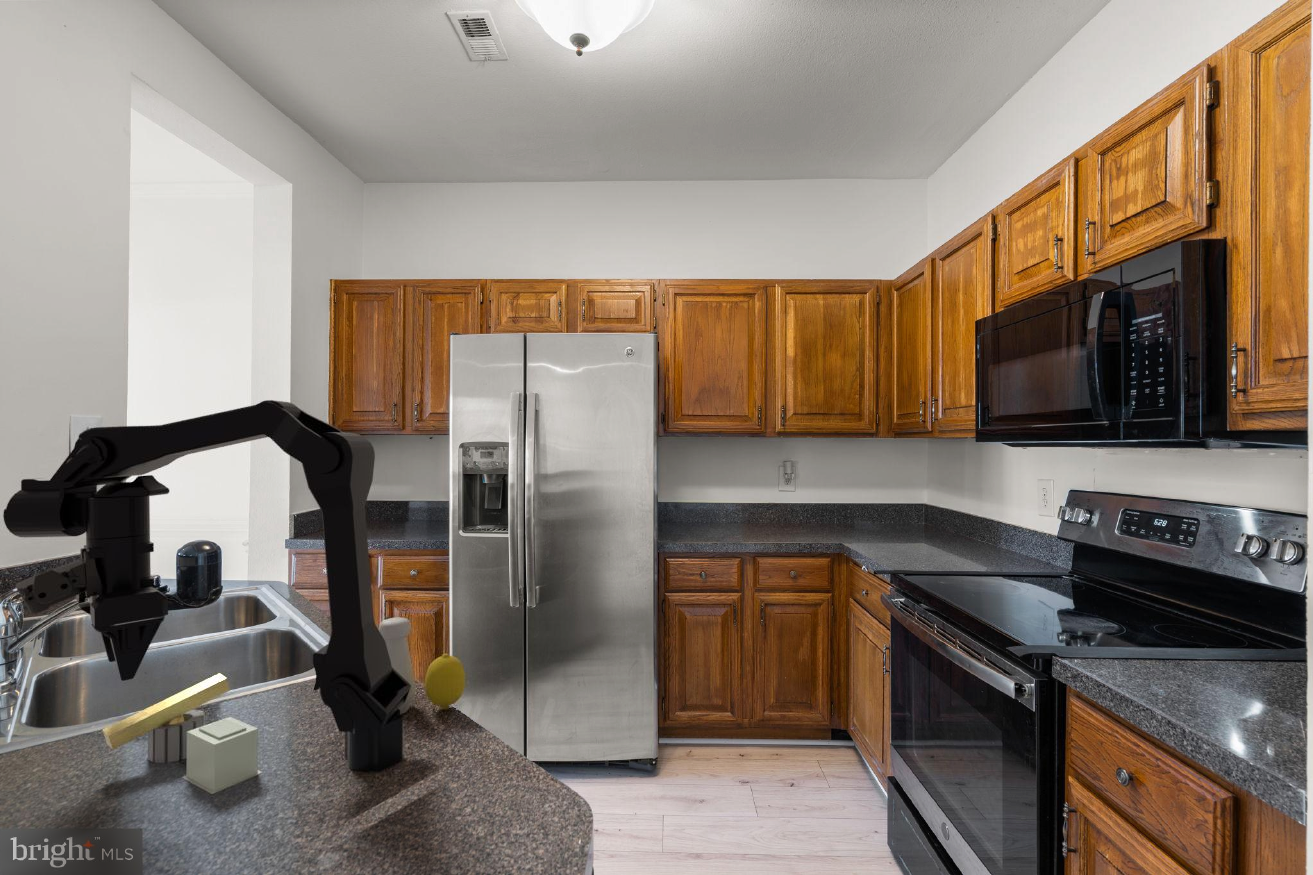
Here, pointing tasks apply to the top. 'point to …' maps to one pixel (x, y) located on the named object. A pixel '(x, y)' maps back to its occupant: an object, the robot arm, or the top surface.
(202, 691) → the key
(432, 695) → the lemon
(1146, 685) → the top surface
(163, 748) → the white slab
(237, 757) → the pale green block
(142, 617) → the robot arm
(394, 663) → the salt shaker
